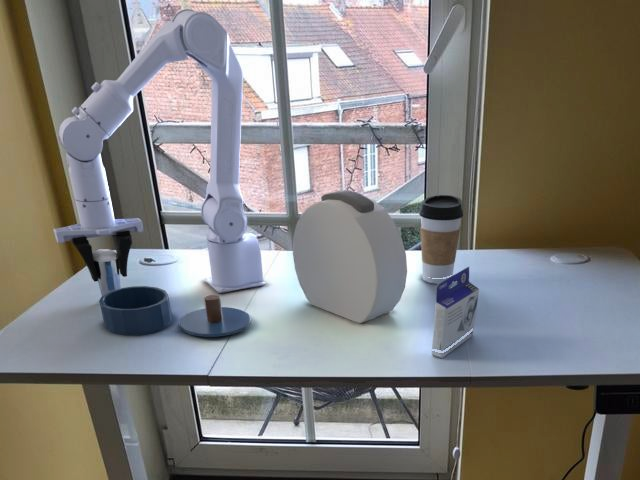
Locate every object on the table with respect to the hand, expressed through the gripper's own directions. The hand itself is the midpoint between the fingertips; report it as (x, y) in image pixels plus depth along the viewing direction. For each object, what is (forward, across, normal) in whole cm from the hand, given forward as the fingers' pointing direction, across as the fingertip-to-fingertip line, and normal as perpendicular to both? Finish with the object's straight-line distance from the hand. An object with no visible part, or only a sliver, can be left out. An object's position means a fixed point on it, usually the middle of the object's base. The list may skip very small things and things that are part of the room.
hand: (109, 277), depth 132 cm
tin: (+4, +1, -12) cm, 13 cm away
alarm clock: (+4, +36, -24) cm, 44 cm away
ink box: (+5, +43, -47) cm, 64 cm away
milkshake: (+5, 0, 0) cm, 5 cm away
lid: (+4, +12, -20) cm, 24 cm away
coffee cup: (+4, +59, -19) cm, 62 cm away
